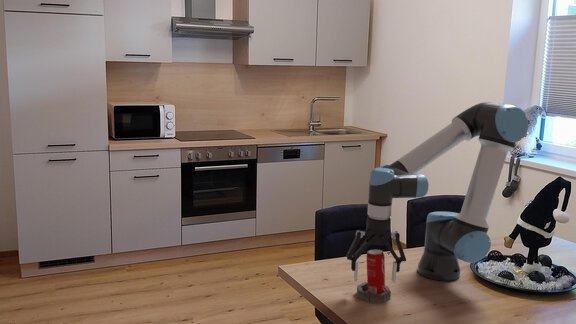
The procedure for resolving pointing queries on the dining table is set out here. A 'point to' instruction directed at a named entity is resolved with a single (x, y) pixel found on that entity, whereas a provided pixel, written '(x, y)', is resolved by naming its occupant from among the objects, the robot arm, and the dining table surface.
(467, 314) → the dining table surface
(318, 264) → the dining table surface
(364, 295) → the collar
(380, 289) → the beverage can
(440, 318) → the dining table surface
